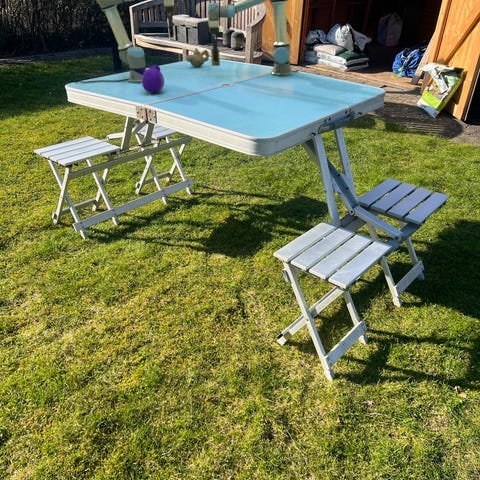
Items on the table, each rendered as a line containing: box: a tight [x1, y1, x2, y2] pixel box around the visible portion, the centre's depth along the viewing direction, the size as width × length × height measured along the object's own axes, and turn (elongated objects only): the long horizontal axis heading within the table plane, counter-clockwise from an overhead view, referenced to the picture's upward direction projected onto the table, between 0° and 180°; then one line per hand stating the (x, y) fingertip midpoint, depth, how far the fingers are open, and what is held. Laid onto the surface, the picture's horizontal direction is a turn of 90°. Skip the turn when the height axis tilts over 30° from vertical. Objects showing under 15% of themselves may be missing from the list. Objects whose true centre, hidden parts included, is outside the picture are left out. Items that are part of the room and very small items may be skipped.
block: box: [210, 47, 221, 67], centre depth 339 cm, size 6×5×12 cm
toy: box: [134, 64, 165, 94], centre depth 304 cm, size 16×18×27 cm
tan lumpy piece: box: [185, 48, 210, 68], centre depth 384 cm, size 21×12×15 cm, turn 120°
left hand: (171, 36), depth 353 cm, fingers open, 13 cm apart
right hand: (215, 60), depth 340 cm, fingers closed on block, 5 cm apart
